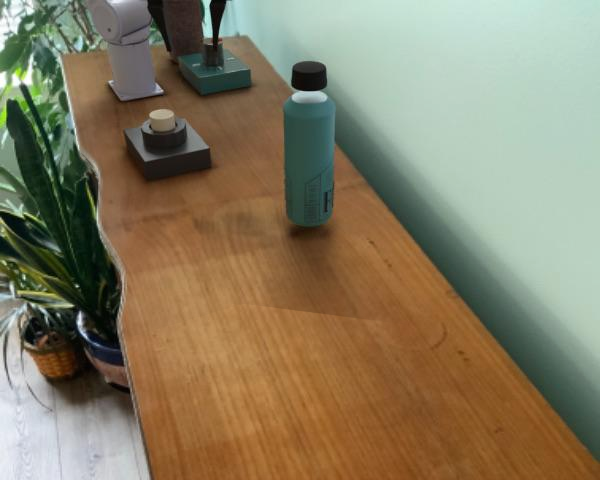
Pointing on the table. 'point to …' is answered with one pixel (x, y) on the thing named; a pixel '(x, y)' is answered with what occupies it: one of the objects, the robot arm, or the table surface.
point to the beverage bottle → (309, 147)
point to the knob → (212, 52)
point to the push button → (162, 120)
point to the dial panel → (215, 73)
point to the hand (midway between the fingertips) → (192, 49)
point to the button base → (167, 149)
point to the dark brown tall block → (185, 27)
